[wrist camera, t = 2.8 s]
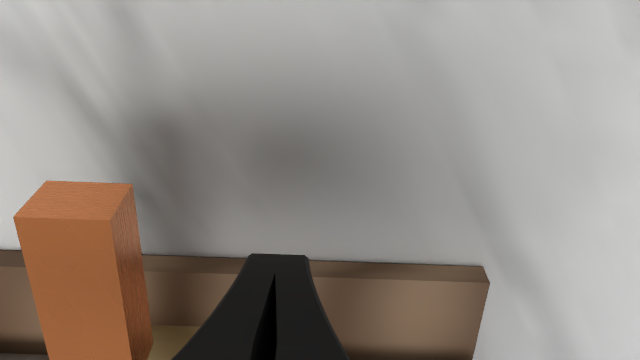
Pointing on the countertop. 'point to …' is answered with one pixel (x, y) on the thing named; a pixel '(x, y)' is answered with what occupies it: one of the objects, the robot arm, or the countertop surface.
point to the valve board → (332, 288)
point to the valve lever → (86, 270)
